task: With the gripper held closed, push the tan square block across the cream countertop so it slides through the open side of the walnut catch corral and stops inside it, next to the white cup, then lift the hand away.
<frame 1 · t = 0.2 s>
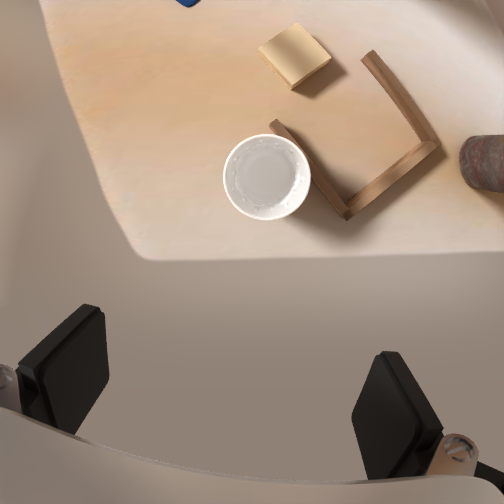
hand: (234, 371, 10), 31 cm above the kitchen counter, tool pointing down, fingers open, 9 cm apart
candle: (472, 161, 36), on the kitchen counter
corral: (356, 133, 36), on the kitchen counter
white cup: (266, 173, 39), on the kitchen counter
tan square block: (293, 59, 35), on the kitchen counter
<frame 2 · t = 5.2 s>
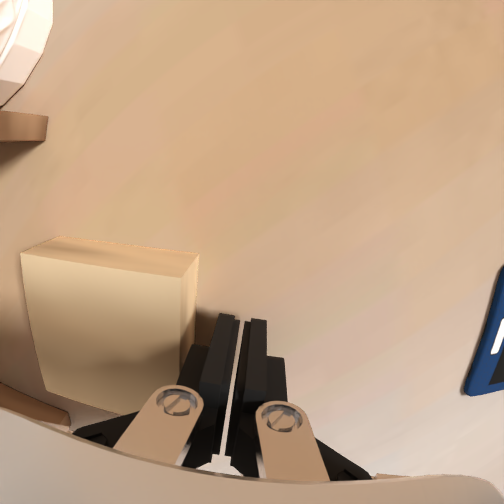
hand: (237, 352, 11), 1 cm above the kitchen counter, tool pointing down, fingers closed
white cup: (6, 47, 9), on the kitchen counter
tan square block: (127, 311, 13), on the kitchen counter, touching gripper
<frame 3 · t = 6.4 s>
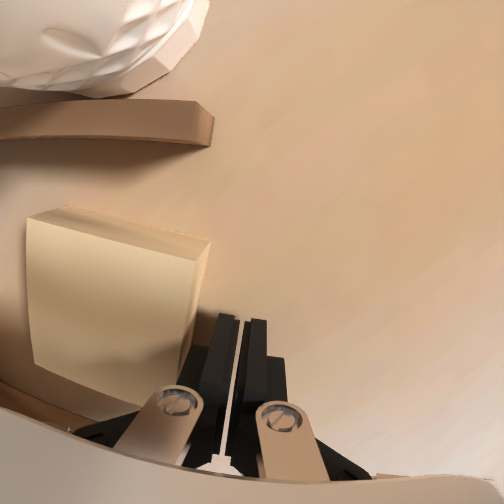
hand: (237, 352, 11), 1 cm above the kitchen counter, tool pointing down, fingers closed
corral: (45, 299, 12), on the kitchen counter
white cup: (125, 21, 9), on the kitchen counter
tan square block: (127, 291, 12), on the kitchen counter
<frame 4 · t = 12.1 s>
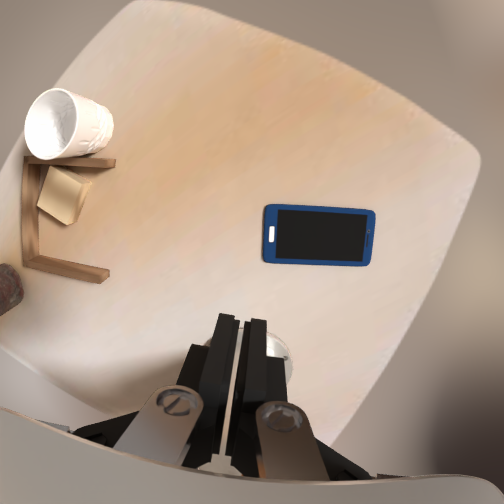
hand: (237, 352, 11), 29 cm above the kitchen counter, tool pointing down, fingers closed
candle: (13, 281, 44), on the kitchen counter
cell phone: (319, 234, 40), on the kitchen counter
corral: (68, 214, 40), on the kitchen counter
white cup: (93, 128, 37), on the kitchen counter
tan square block: (69, 192, 40), on the kitchen counter
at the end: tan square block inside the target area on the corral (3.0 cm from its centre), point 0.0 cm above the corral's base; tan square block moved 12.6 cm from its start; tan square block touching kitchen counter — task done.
